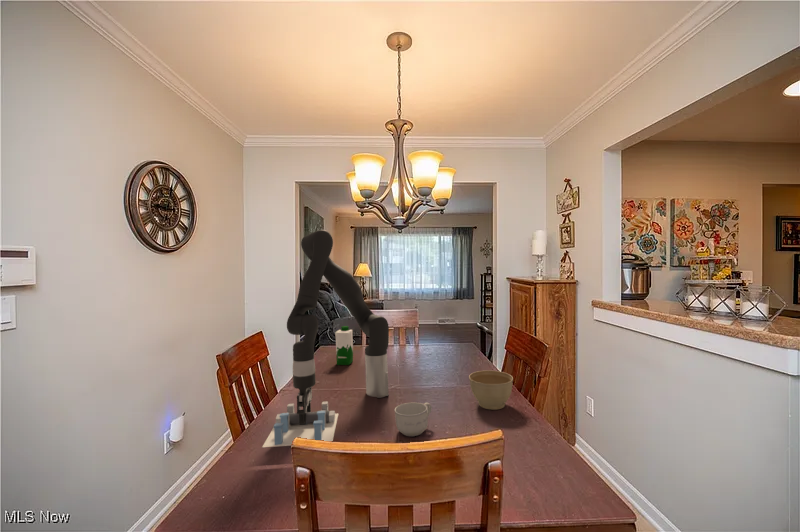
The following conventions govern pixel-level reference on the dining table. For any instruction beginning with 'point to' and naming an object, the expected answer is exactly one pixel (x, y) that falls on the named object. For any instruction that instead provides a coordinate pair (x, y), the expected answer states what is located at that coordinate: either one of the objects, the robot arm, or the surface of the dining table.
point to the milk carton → (344, 346)
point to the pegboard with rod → (301, 429)
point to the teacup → (412, 418)
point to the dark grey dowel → (308, 417)
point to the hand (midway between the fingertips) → (305, 418)
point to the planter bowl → (491, 388)
